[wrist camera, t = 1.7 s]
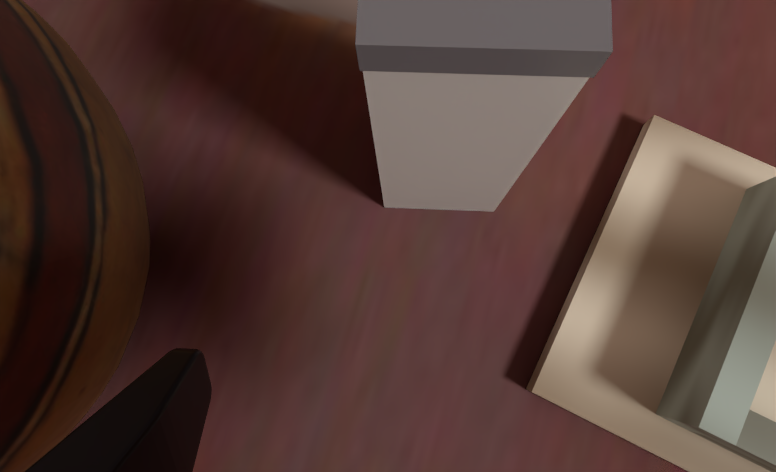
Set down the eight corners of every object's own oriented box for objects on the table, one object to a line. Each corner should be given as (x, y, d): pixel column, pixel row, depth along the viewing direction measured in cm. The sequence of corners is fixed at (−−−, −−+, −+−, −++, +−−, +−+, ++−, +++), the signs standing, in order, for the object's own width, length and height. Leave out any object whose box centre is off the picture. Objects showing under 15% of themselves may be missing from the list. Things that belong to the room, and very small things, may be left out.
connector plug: (495, 212, 23) (612, 51, 10) (382, 208, 23) (354, 44, 10) (496, 107, 23) (606, -169, 11) (388, 103, 24) (368, -172, 11)
